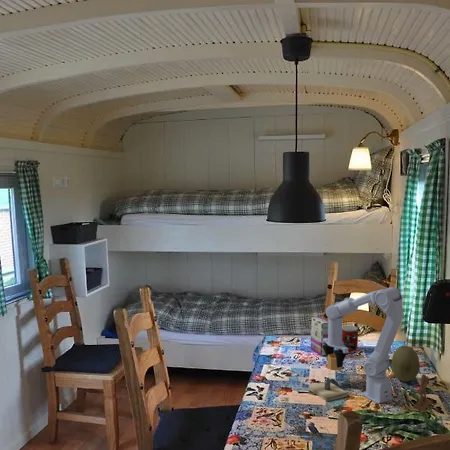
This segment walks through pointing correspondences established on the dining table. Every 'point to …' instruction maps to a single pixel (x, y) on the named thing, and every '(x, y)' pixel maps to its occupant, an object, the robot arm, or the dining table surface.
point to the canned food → (350, 337)
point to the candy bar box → (318, 334)
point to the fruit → (405, 363)
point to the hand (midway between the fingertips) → (334, 364)
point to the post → (327, 384)
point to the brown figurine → (423, 401)
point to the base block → (327, 391)
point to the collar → (332, 362)
